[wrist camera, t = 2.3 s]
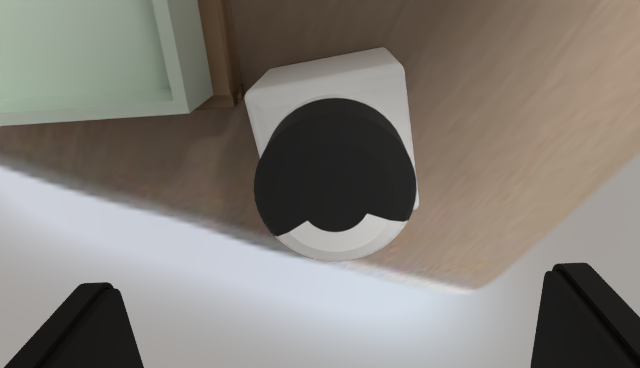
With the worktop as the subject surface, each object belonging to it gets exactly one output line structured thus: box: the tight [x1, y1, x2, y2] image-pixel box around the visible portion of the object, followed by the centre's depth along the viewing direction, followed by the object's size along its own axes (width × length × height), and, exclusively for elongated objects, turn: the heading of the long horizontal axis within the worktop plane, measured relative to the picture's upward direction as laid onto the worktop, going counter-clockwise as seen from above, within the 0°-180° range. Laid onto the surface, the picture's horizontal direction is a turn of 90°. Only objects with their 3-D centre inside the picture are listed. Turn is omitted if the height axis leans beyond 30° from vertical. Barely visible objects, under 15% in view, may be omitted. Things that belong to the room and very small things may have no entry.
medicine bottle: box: [245, 47, 419, 261], centre depth 21 cm, size 7×7×12 cm
